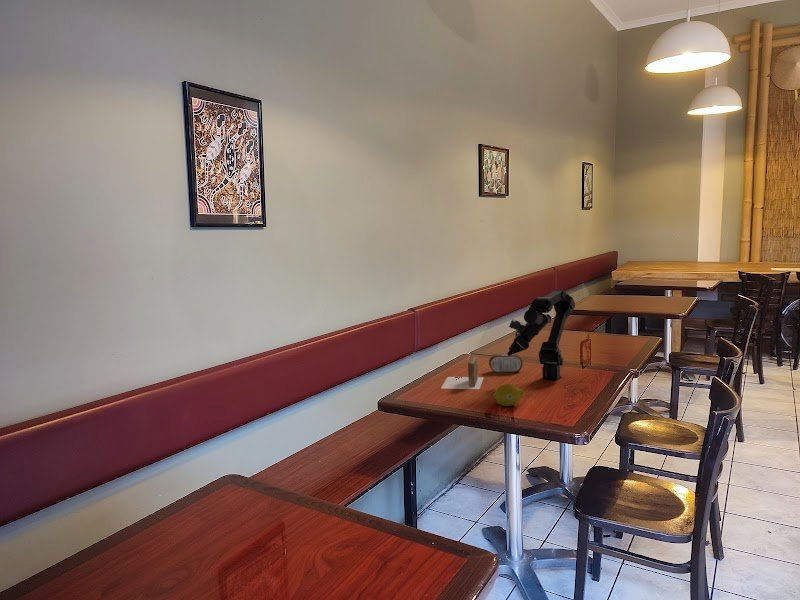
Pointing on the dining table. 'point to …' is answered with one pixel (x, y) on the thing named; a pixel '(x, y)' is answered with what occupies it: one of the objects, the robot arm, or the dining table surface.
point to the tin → (505, 363)
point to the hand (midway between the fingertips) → (508, 352)
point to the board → (472, 371)
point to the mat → (460, 383)
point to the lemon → (508, 395)
